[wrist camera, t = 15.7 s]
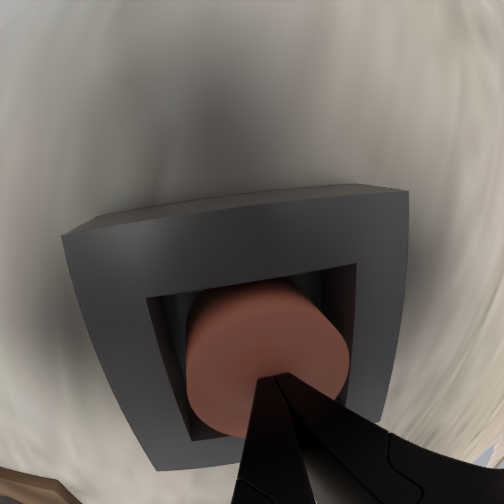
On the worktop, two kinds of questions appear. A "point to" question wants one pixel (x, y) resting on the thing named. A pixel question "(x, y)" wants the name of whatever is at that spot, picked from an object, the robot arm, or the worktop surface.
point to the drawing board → (33, 489)
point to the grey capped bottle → (7, 500)
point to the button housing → (230, 273)
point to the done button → (256, 348)
